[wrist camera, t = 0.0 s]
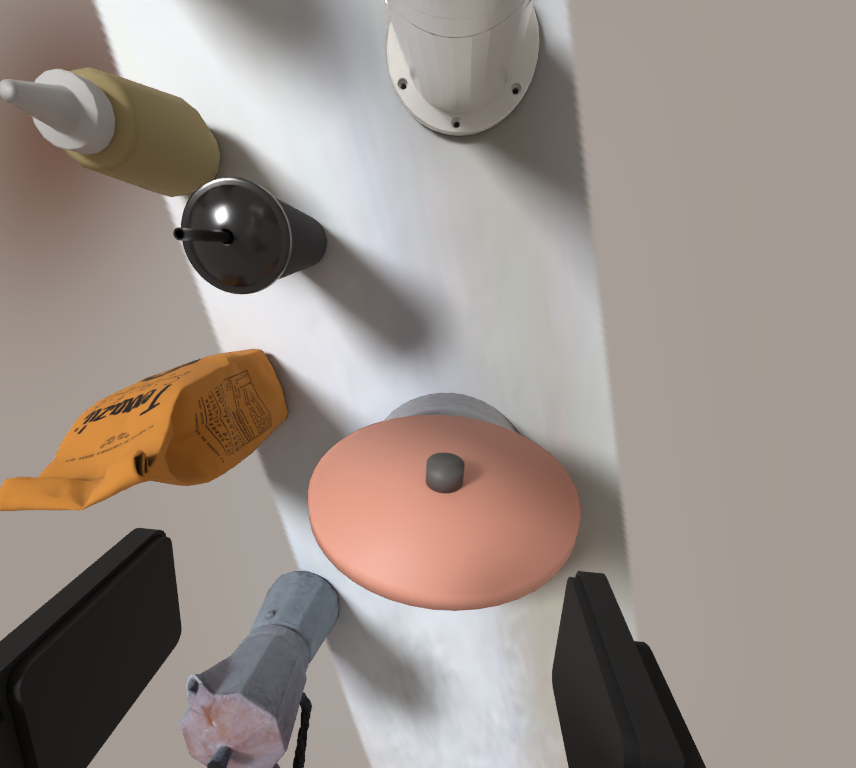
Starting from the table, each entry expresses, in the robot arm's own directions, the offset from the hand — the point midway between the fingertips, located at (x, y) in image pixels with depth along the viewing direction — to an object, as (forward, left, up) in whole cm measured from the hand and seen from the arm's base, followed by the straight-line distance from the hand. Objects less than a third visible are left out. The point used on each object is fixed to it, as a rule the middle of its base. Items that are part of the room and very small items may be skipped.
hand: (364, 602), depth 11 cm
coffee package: (+8, -22, -37) cm, 44 cm away
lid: (+7, +2, -18) cm, 20 cm away
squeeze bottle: (-15, -24, -37) cm, 47 cm away
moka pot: (+34, -14, -37) cm, 52 cm away
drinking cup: (-8, -14, -37) cm, 40 cm away
